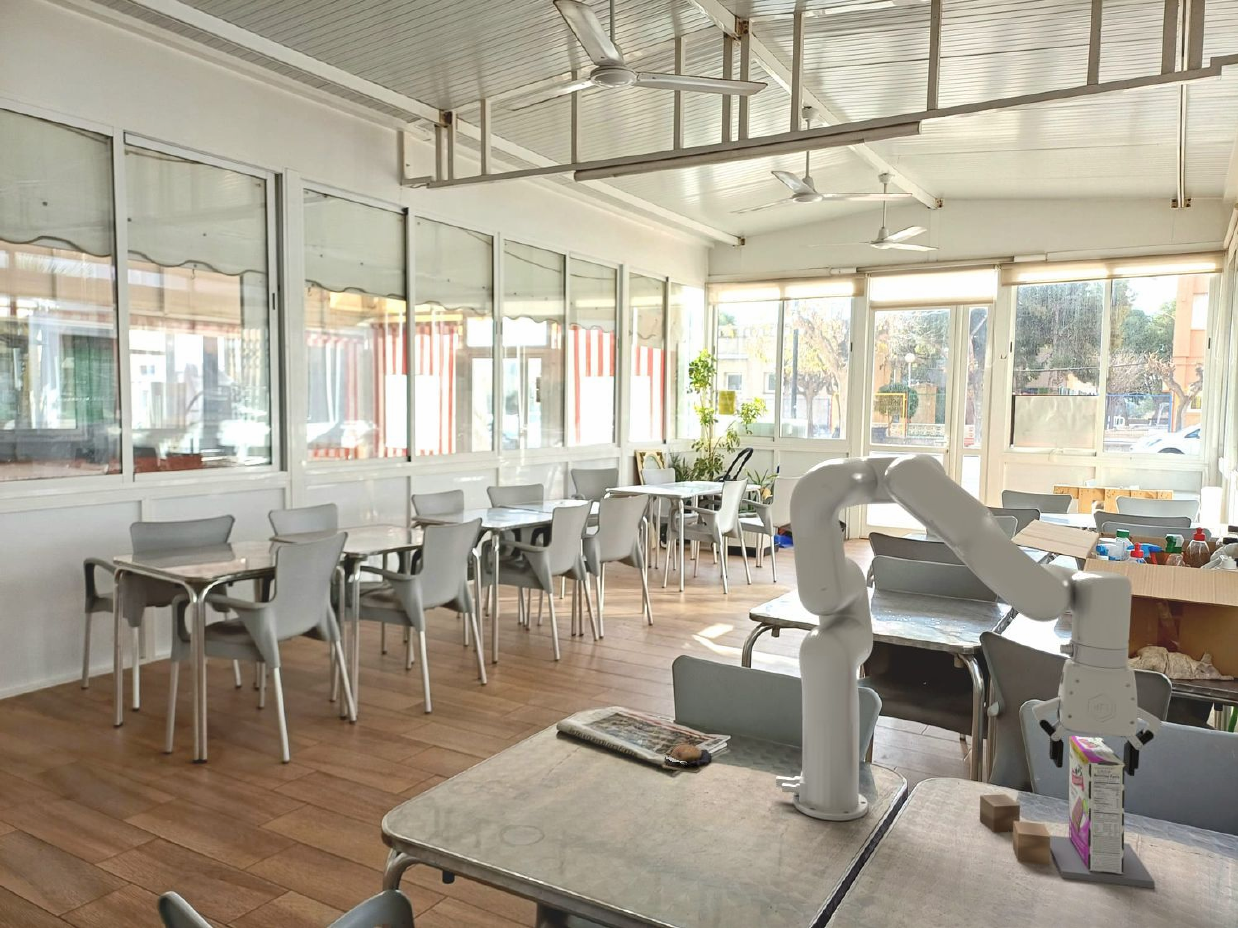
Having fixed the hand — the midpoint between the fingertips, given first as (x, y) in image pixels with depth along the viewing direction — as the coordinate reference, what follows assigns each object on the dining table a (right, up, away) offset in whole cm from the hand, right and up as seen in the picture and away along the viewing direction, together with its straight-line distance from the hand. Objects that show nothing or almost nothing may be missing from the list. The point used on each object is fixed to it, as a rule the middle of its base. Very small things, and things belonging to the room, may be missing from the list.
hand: (1092, 768), depth 133 cm
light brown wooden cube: (-8, -14, +2) cm, 17 cm away
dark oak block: (-8, -14, +13) cm, 21 cm away
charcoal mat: (+1, -14, 0) cm, 14 cm away
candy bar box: (0, -13, 0) cm, 13 cm away
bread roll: (-57, -14, +42) cm, 72 cm away
